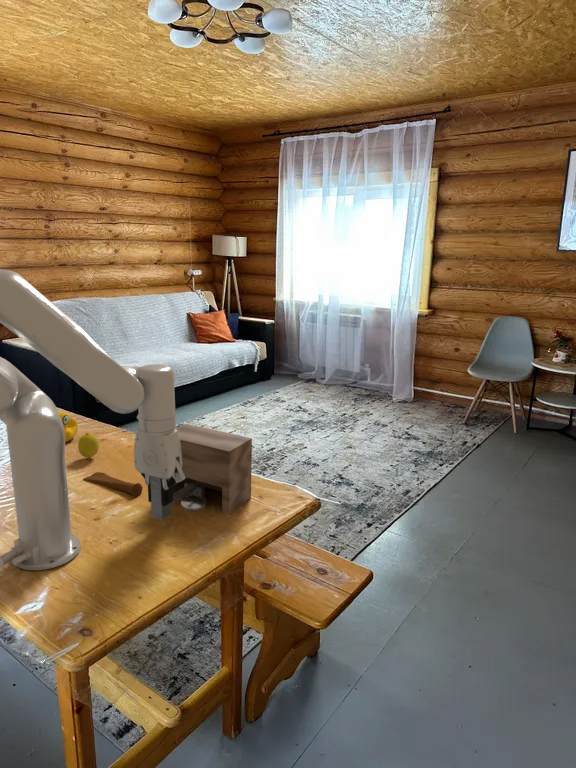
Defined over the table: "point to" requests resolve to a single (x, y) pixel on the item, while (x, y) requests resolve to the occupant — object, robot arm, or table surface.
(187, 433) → the wooden bridge block
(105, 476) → the primitive tool
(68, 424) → the duckling
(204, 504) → the steel token
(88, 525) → the table surface
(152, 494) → the hoe
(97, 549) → the table surface
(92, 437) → the lemon
